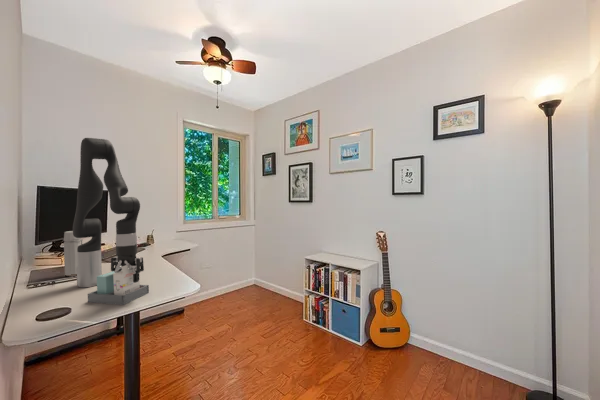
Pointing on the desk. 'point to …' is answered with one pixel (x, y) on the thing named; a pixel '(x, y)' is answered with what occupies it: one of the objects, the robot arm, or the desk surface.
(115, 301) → the cartridge holder
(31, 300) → the desk surface
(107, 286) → the teal block
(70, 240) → the water bottle
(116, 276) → the ink cartridge box
